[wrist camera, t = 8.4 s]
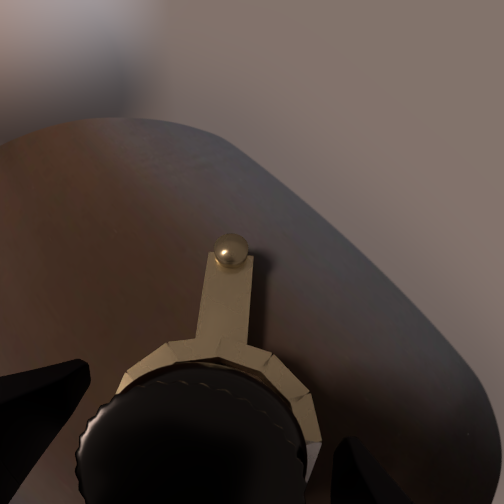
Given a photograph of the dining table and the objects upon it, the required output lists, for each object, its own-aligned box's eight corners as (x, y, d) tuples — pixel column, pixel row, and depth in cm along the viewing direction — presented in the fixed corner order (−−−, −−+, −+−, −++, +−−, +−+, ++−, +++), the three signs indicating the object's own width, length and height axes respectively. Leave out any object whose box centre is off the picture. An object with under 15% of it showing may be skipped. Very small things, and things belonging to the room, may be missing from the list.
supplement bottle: (214, 505, 11) (191, 626, 1) (134, 428, 13) (-6, 431, 3) (295, 435, 14) (412, 465, 4) (214, 361, 16) (187, 267, 6)
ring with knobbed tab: (312, 442, 14) (321, 445, 12) (119, 420, 14) (106, 420, 12) (312, 257, 21) (319, 242, 19) (155, 242, 21) (149, 226, 19)
